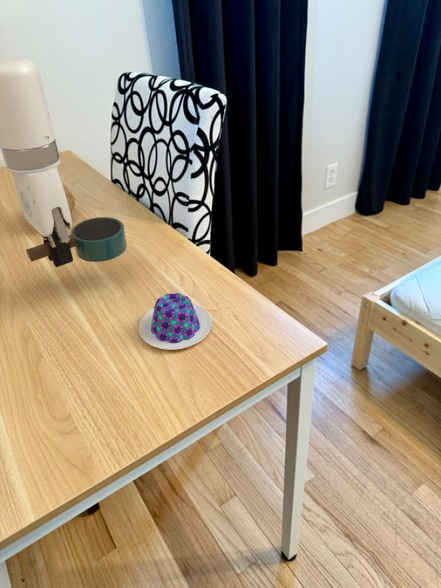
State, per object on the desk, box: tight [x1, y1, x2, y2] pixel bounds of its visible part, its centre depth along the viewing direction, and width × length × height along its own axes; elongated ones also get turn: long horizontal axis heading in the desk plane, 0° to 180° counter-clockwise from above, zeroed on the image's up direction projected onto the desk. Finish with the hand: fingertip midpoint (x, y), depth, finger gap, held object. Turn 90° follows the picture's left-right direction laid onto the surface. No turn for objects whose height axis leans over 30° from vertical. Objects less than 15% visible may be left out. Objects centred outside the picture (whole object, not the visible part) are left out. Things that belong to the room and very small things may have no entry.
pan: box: [25, 216, 128, 263], centre depth 74 cm, size 17×9×4 cm, turn 129°
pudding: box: [138, 292, 213, 351], centre depth 69 cm, size 12×12×5 cm
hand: (61, 260), depth 74 cm, fingers closed on pan
